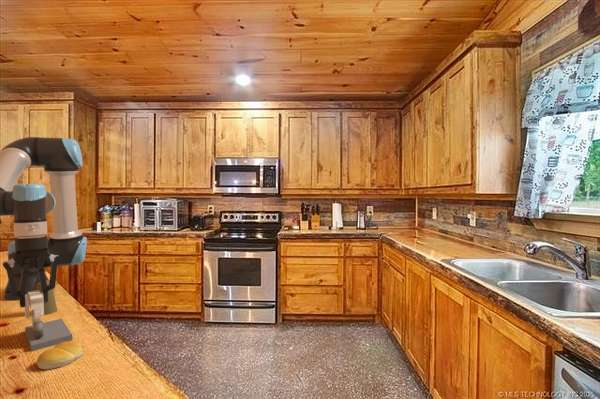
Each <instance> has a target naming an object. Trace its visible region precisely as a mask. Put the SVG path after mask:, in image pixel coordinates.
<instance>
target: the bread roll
mask: <svg viewBox="0 0 600 399" xmlns="http://www.w3.org/2000/svg"><path fill="white" fill-rule="evenodd" d="M83 353H84V352H83V348H82V345H80V343H77V342H76V341H73V340H70V341H66V342H61V343H59V344H56V345H54V347H52V348H49V349H46V350H44V351H43V352H41V353H40V354H39V356H38V357H37V360H36V365H37V366H38V368H39V369H40V370H53V369H59V368H62V367H65V366H68V365H69V364H72V363H73V362H74V361H76V360H78V359H79V358H80V357H81V356H82V355H83ZM58 367H59V368H58Z"/></svg>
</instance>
